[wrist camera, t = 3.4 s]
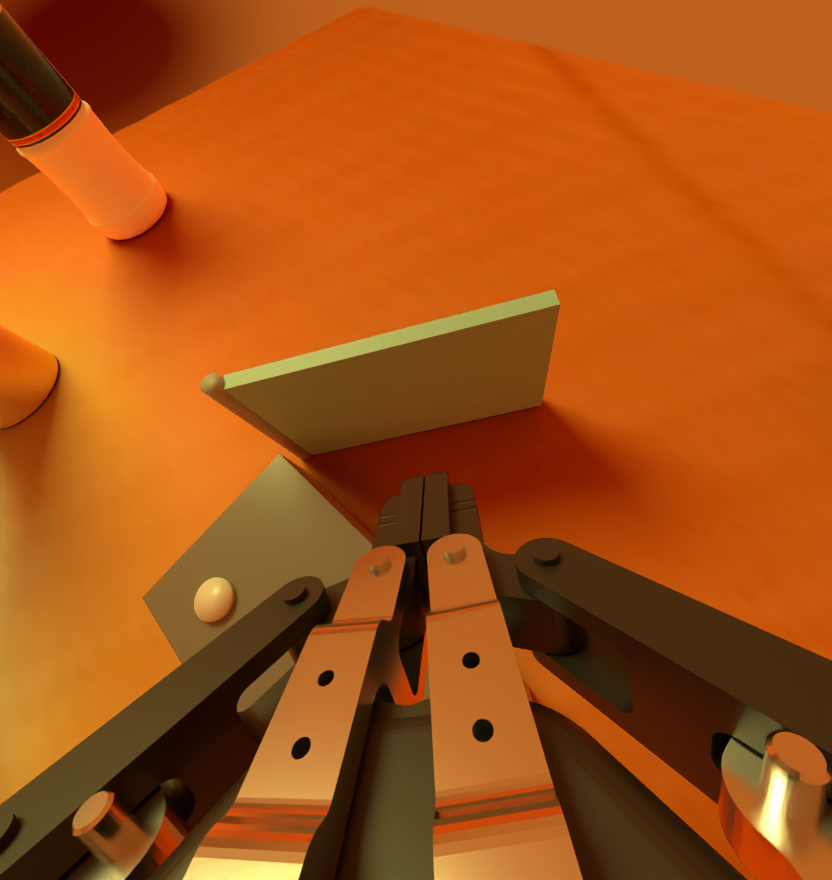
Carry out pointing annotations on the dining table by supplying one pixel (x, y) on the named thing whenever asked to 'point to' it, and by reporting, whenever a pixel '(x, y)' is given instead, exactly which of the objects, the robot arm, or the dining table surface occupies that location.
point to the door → (399, 379)
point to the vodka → (71, 141)
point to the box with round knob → (258, 563)
